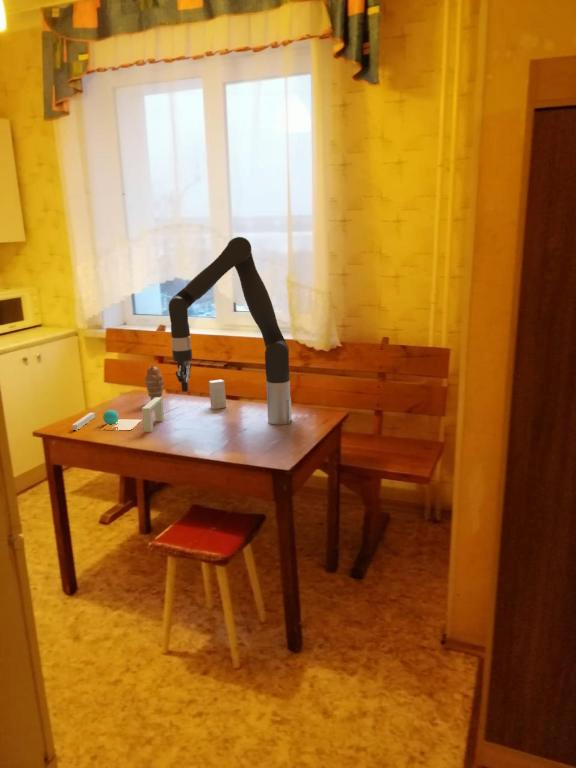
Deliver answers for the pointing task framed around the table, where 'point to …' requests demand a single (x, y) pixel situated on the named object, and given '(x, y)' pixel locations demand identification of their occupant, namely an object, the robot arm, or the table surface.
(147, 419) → the bridge
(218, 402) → the skincare box
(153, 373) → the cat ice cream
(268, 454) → the table surface
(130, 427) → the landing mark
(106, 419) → the ball
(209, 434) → the table surface
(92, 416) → the stopper
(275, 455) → the table surface
